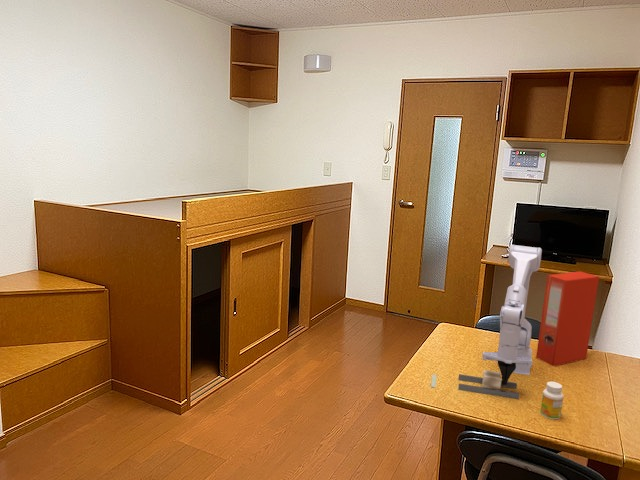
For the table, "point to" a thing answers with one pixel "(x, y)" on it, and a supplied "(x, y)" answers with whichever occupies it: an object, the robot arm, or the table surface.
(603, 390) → the table surface
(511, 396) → the parallel grey rails
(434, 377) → the pad
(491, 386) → the block
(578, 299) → the file binder
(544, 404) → the supplement bottle
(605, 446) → the table surface
